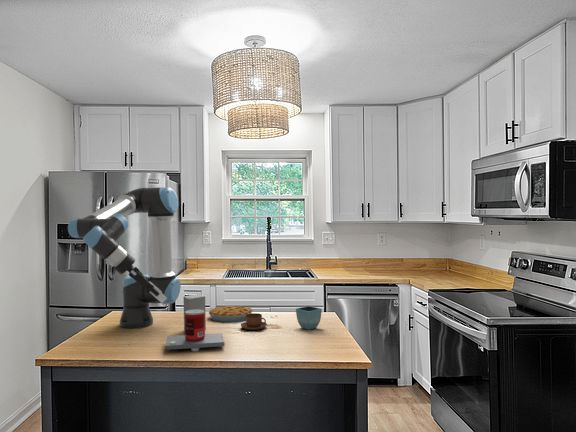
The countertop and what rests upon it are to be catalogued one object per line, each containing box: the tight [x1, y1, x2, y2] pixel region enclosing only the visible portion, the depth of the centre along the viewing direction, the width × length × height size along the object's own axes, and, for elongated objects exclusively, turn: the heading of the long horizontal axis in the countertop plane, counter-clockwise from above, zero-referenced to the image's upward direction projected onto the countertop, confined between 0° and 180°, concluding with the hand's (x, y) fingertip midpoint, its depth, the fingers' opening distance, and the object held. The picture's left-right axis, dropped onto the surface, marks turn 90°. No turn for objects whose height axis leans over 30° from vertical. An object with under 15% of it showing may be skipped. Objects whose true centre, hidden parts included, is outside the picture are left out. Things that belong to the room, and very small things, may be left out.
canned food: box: [184, 309, 206, 342], centre depth 186 cm, size 8×8×11 cm
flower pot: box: [295, 305, 323, 330], centre depth 215 cm, size 9×9×9 cm
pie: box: [208, 305, 253, 323], centre depth 238 cm, size 22×22×5 cm
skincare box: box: [183, 293, 207, 331], centre depth 212 cm, size 8×7×16 cm
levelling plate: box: [165, 332, 226, 352], centre depth 186 cm, size 14×22×3 cm, turn 102°
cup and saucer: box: [240, 312, 268, 331], centre depth 216 cm, size 12×12×6 cm
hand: (162, 297), depth 182 cm, fingers open, 13 cm apart
